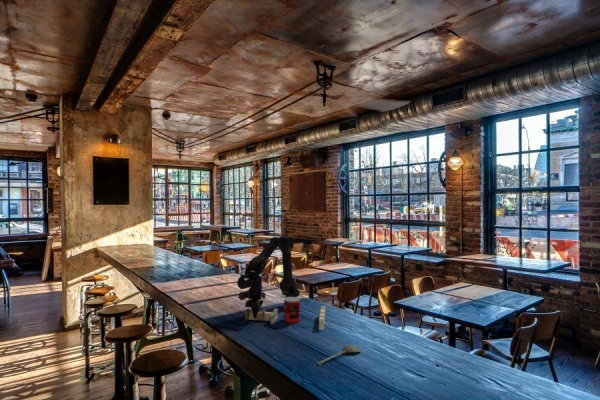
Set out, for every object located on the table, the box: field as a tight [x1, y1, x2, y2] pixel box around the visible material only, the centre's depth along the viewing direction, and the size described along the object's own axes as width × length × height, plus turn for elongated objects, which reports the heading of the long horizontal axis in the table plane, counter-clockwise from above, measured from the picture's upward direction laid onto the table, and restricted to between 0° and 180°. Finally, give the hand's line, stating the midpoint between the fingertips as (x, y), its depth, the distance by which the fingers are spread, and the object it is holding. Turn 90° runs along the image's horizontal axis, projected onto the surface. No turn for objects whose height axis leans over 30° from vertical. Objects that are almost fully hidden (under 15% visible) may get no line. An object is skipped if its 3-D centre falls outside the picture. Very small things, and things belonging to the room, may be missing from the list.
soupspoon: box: [316, 344, 362, 367], centre depth 135 cm, size 22×3×7 cm
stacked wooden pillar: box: [244, 308, 279, 325], centre depth 176 cm, size 15×12×4 cm
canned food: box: [283, 296, 301, 325], centre depth 174 cm, size 8×8×11 cm
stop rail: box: [318, 305, 326, 331], centre depth 172 cm, size 20×2×5 cm, turn 174°
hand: (255, 316), depth 176 cm, fingers closed on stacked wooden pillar, 2 cm apart
